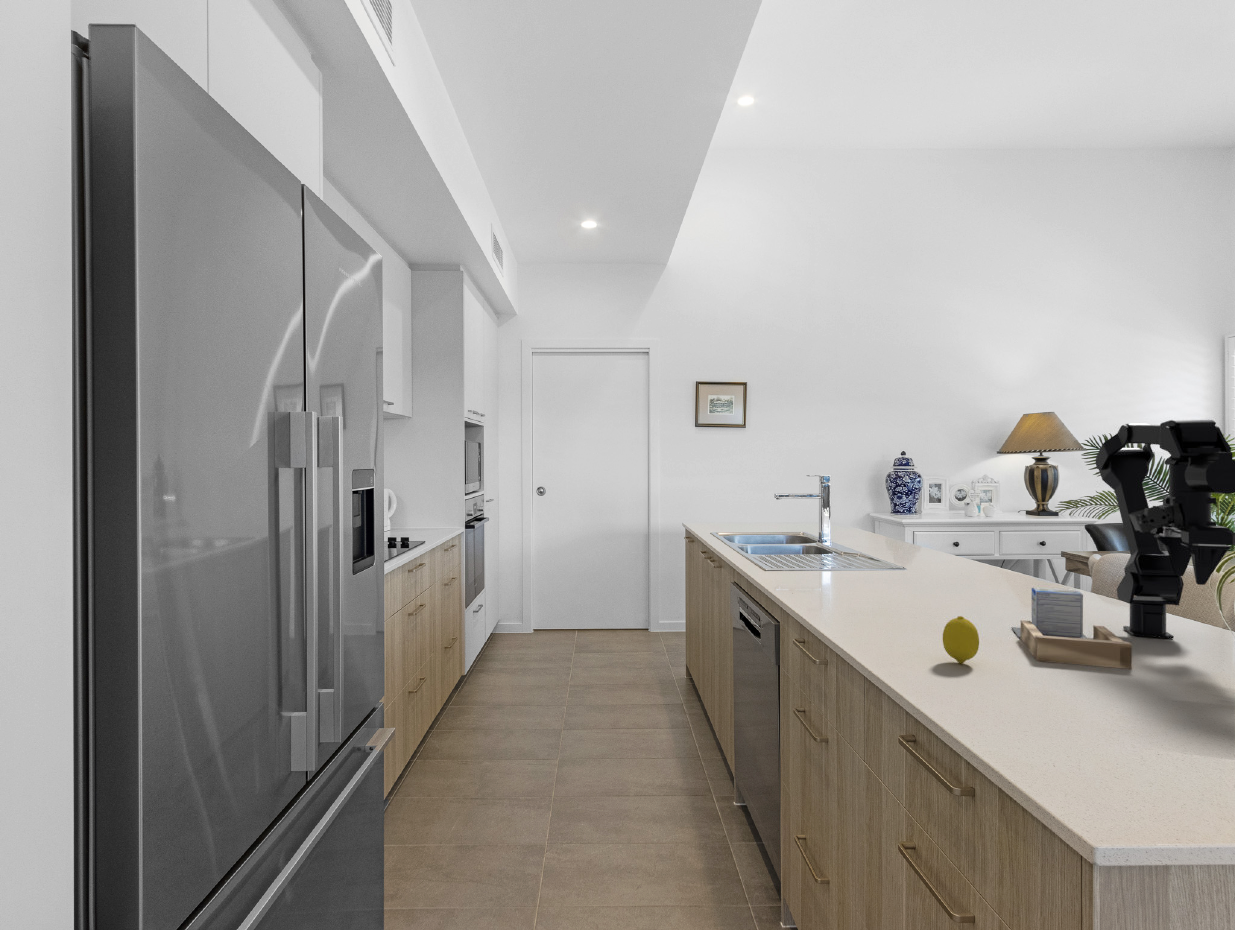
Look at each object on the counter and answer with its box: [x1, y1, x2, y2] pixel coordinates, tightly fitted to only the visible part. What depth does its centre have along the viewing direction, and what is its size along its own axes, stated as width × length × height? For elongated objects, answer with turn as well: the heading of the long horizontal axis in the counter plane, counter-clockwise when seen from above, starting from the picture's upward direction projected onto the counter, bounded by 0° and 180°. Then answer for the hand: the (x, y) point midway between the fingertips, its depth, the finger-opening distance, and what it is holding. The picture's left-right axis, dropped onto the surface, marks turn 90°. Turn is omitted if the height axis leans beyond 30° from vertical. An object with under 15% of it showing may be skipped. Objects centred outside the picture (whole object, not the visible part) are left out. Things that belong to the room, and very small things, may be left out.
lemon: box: [942, 615, 980, 665], centre depth 117 cm, size 6×6×8 cm
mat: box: [1010, 626, 1088, 639], centre depth 134 cm, size 8×12×1 cm, turn 69°
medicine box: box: [1031, 587, 1084, 637], centre depth 134 cm, size 8×4×9 cm, turn 69°
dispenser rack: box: [1020, 619, 1133, 670], centre depth 123 cm, size 16×13×4 cm
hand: (1189, 580), depth 122 cm, fingers open, 9 cm apart
